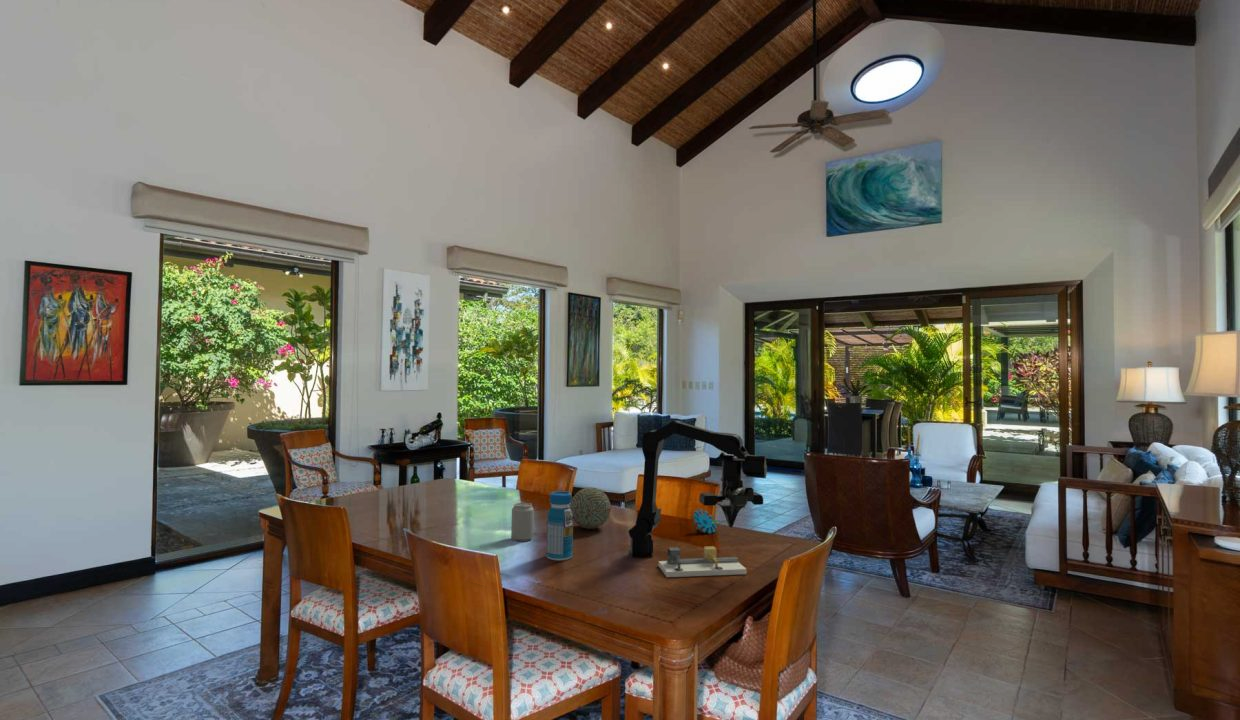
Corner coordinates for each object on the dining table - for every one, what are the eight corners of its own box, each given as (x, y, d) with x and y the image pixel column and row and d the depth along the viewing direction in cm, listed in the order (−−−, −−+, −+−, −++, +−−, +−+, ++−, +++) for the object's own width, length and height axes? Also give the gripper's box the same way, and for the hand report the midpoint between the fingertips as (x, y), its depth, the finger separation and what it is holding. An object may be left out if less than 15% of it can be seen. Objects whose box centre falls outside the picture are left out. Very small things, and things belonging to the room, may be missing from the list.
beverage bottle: (546, 561, 193) (547, 496, 194) (545, 553, 202) (546, 490, 202) (573, 560, 195) (575, 495, 195) (571, 552, 203) (573, 490, 203)
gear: (700, 531, 226) (690, 507, 233) (691, 540, 230) (682, 516, 236) (724, 532, 232) (713, 508, 239) (715, 541, 235) (705, 517, 242)
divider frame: (672, 570, 183) (673, 555, 183) (666, 561, 191) (666, 547, 191) (745, 567, 187) (745, 553, 187) (735, 559, 195) (735, 545, 195)
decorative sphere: (580, 521, 244) (581, 482, 244) (616, 526, 238) (617, 486, 238) (562, 530, 230) (563, 489, 230) (600, 535, 224) (600, 493, 224)
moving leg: (711, 567, 185) (712, 554, 185) (703, 559, 193) (703, 546, 193) (721, 566, 186) (722, 553, 186) (713, 558, 193) (713, 546, 193)
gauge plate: (666, 577, 182) (666, 571, 182) (658, 566, 191) (658, 560, 191) (746, 574, 186) (746, 568, 186) (734, 563, 196) (734, 558, 196)
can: (506, 540, 216) (507, 505, 216) (518, 535, 223) (519, 500, 223) (526, 543, 213) (526, 507, 213) (537, 537, 220) (537, 502, 220)
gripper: (710, 480, 184) (709, 534, 184) (771, 480, 187) (770, 533, 187) (699, 474, 195) (698, 525, 195) (756, 473, 198) (755, 523, 198)
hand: (730, 527), depth 193 cm, fingers closed
